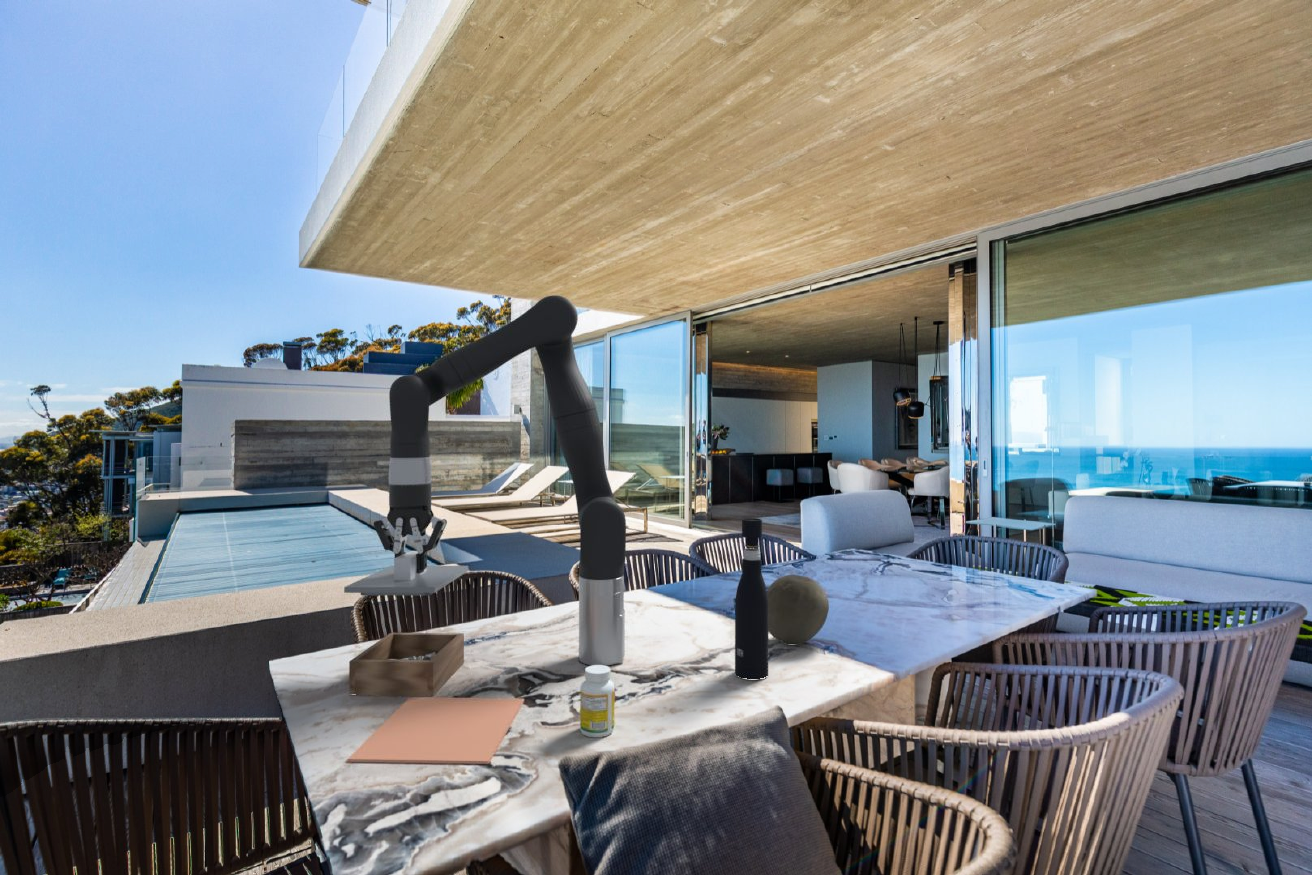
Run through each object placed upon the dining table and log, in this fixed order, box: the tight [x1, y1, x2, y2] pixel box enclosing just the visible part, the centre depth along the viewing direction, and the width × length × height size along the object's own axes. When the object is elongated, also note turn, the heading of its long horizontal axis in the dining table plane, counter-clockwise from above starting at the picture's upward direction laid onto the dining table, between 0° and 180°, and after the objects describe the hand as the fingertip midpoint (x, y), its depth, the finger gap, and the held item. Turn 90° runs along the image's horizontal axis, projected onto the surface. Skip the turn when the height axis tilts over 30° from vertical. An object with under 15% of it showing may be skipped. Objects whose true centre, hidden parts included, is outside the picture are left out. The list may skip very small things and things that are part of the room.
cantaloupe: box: [767, 574, 830, 645], centre depth 146 cm, size 14×14×15 cm
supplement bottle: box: [579, 665, 616, 738], centre depth 102 cm, size 5×5×10 cm
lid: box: [343, 550, 469, 596], centre depth 124 cm, size 16×19×6 cm
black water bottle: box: [734, 517, 769, 679], centre depth 127 cm, size 6×6×30 cm
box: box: [348, 632, 465, 697], centre depth 124 cm, size 15×17×6 cm
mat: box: [347, 696, 525, 765], centre depth 103 cm, size 20×22×1 cm
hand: (410, 572), depth 124 cm, fingers closed on lid, 3 cm apart
